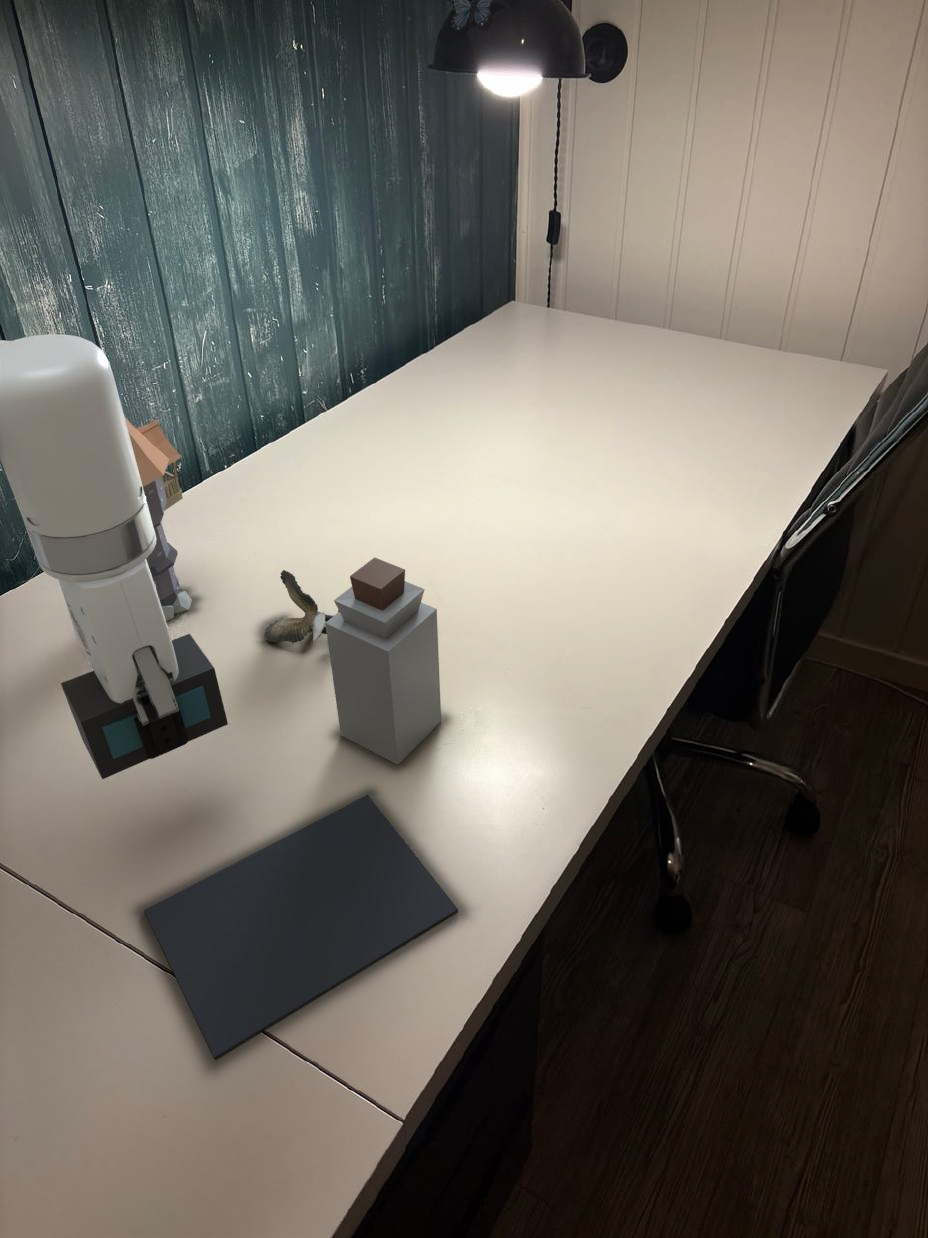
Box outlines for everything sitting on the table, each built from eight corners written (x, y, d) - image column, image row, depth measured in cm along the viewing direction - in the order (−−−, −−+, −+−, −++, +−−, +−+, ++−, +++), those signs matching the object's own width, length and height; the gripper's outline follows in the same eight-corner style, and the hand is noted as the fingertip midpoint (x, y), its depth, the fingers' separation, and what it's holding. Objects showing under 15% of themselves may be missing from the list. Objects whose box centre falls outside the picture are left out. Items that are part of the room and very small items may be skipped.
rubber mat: (215, 1059, 62) (214, 1057, 62) (144, 912, 71) (143, 910, 71) (458, 911, 71) (458, 909, 71) (367, 796, 80) (367, 794, 80)
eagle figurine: (362, 605, 99) (287, 579, 100) (353, 584, 93) (272, 556, 94) (336, 669, 97) (259, 642, 99) (324, 652, 91) (241, 623, 92)
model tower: (225, 589, 104) (168, 330, 85) (151, 642, 97) (72, 373, 78) (165, 564, 108) (98, 312, 89) (90, 613, 101) (1, 350, 82)
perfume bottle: (441, 720, 87) (434, 565, 76) (398, 765, 83) (384, 607, 72) (385, 693, 90) (371, 541, 79) (340, 735, 86) (319, 579, 75)
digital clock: (102, 781, 68) (81, 723, 64) (82, 740, 71) (60, 683, 68) (229, 725, 72) (215, 668, 69) (204, 689, 76) (189, 633, 72)
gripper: (1, 493, 64) (73, 684, 75) (72, 617, 53) (144, 820, 64) (108, 462, 67) (162, 650, 79) (196, 573, 56) (244, 773, 68)
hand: (153, 724), depth 71 cm, fingers closed on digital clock, 5 cm apart
